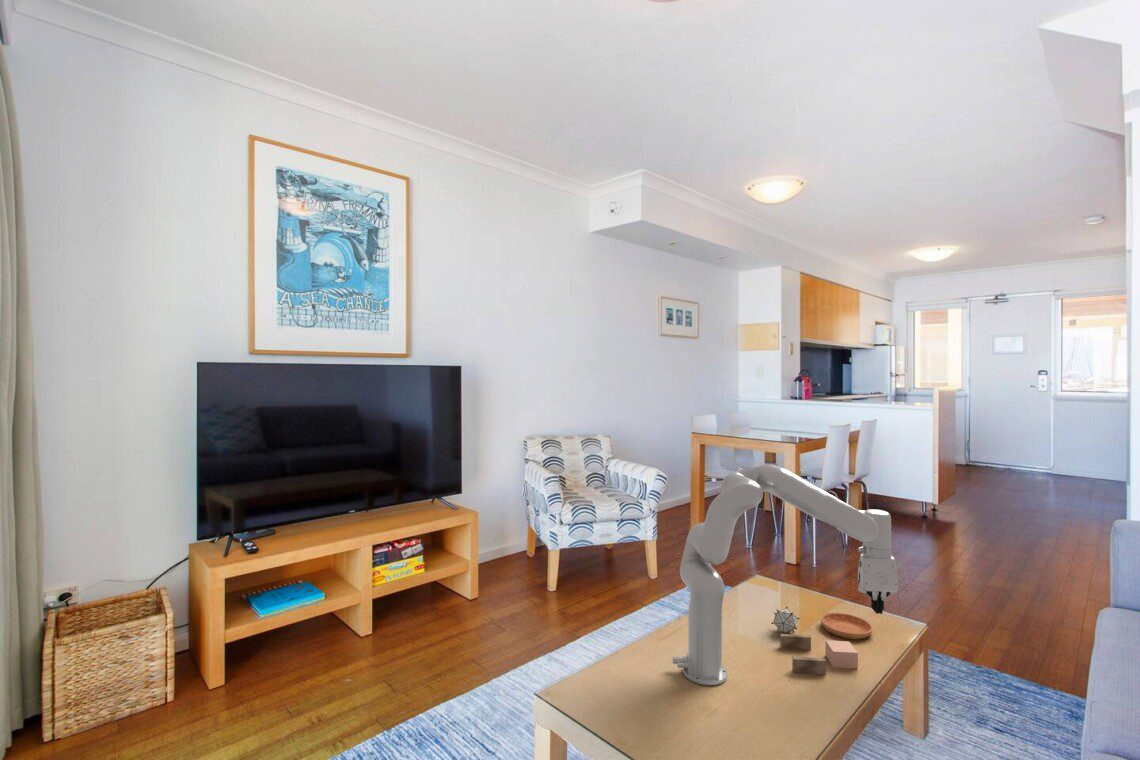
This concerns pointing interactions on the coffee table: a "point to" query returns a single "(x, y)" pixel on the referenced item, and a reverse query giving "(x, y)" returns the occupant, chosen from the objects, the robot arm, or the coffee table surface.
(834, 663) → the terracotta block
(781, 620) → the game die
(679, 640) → the coffee table surface
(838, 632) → the saucer
